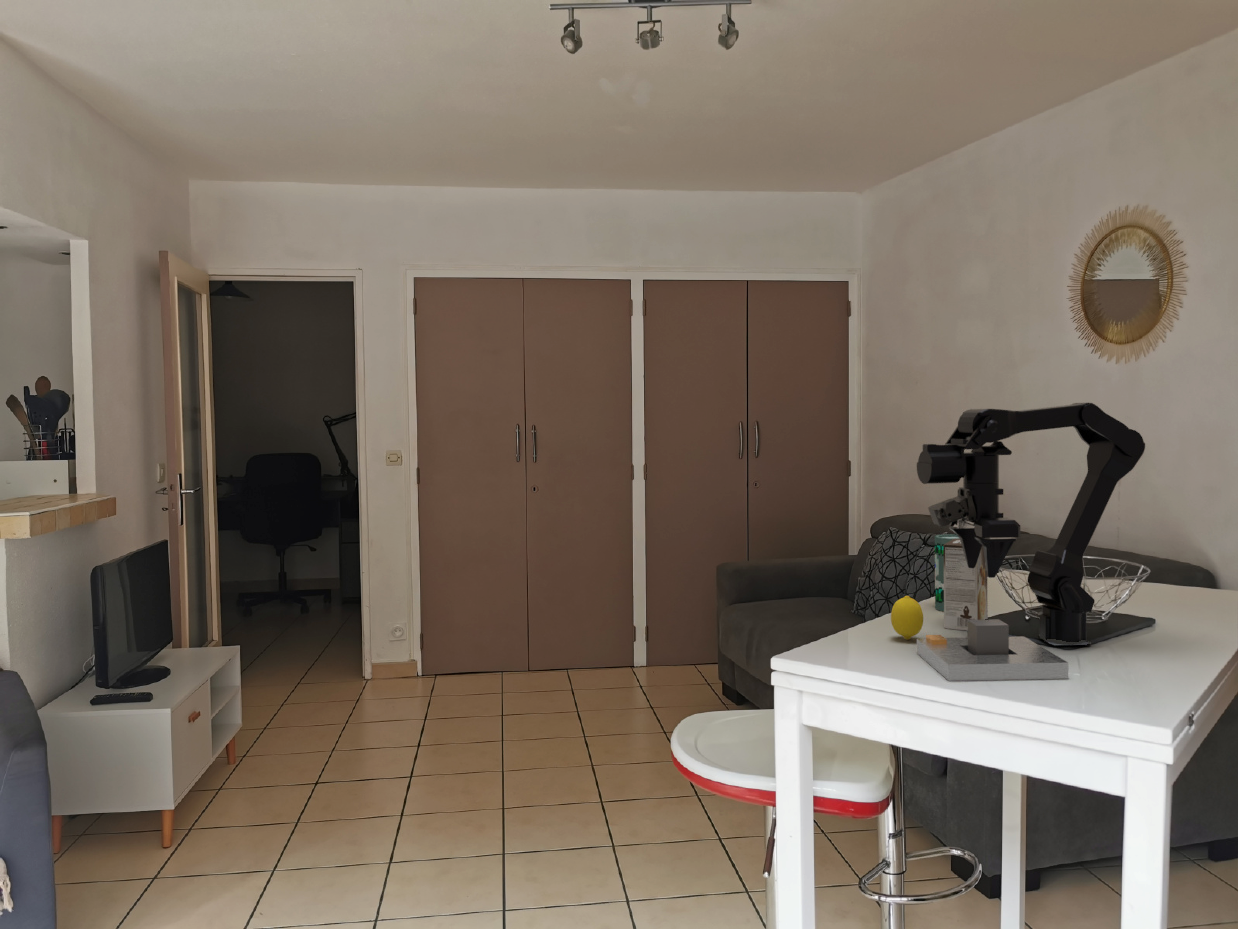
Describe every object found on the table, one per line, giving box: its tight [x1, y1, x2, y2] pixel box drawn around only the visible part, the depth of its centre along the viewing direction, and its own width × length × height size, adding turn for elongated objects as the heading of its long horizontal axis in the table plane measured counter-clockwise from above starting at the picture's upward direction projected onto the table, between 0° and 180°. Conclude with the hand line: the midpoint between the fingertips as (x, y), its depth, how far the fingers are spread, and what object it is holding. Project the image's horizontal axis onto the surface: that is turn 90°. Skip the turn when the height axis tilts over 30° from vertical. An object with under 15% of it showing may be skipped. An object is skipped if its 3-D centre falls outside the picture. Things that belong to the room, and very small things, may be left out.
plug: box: [967, 618, 1010, 655], centre depth 146 cm, size 5×4×7 cm
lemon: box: [890, 595, 924, 641], centre depth 163 cm, size 6×6×8 cm
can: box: [934, 534, 960, 613], centre depth 186 cm, size 6×6×15 cm
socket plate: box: [916, 634, 1069, 682], centre depth 146 cm, size 18×16×3 cm
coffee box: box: [943, 538, 989, 632], centre depth 172 cm, size 9×6×16 cm
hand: (981, 572), depth 156 cm, fingers open, 9 cm apart
